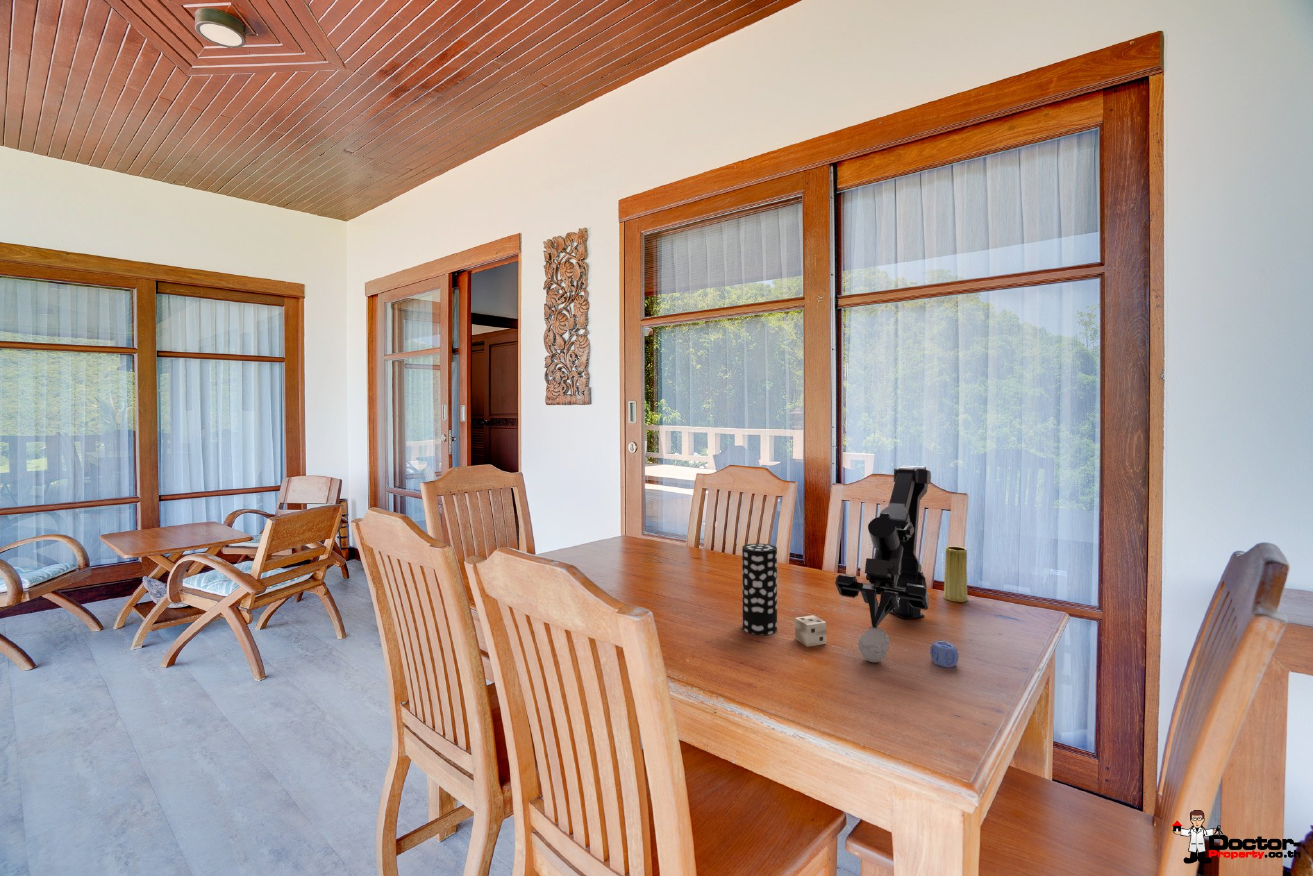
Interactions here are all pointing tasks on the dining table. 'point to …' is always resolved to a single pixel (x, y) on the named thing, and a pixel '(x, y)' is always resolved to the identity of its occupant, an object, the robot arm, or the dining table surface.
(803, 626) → the birch pip block
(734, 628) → the dining table surface
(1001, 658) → the dining table surface
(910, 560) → the robot arm
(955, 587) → the vase
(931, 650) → the decorative dice
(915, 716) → the dining table surface
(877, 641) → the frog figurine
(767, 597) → the white-spotted black cylinder
